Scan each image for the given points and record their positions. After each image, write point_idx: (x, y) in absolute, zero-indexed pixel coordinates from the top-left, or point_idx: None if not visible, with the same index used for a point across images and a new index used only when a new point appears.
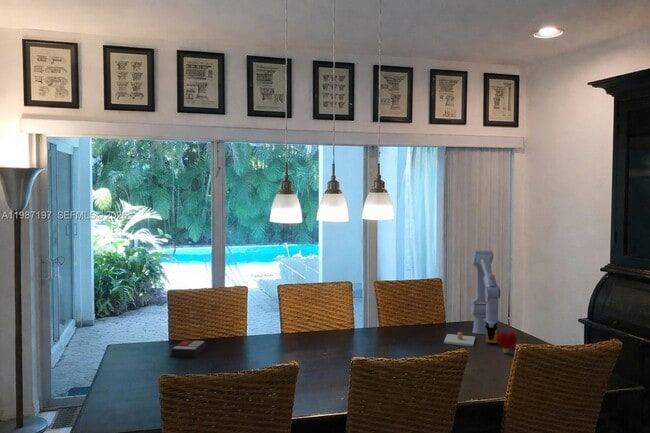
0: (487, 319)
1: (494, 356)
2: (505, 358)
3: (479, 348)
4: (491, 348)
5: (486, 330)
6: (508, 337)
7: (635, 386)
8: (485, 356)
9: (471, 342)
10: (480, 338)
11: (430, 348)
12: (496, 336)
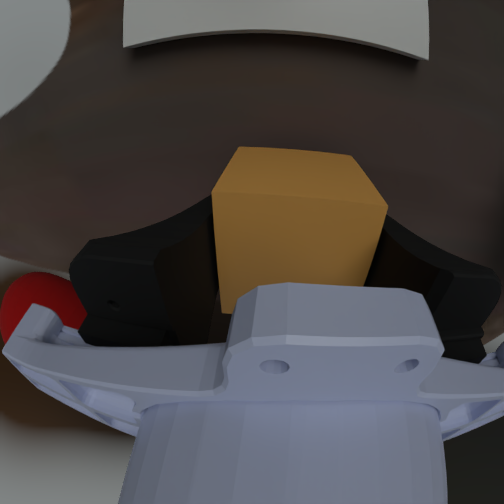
0: (146, 436)
1: (31, 216)
2: (42, 261)
3: (102, 106)
4: (144, 192)
5: (306, 202)
6: None
7: None
8: (9, 176)
9: (178, 15)
10: (437, 113)
11: None
12: (5, 297)
